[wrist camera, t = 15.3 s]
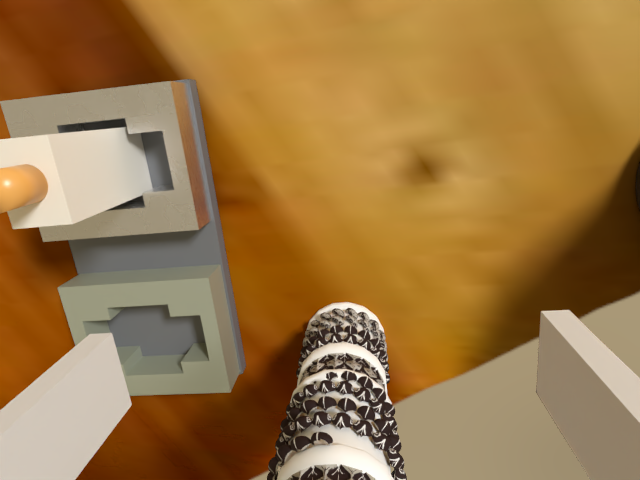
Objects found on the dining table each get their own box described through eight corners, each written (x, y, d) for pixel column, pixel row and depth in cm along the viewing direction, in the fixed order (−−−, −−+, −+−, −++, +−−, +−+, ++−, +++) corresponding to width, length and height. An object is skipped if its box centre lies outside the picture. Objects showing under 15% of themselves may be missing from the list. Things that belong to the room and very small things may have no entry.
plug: (92, 130, 39) (-59, 145, 25) (138, 125, 39) (11, 137, 24) (109, 194, 41) (-24, 242, 27) (153, 190, 40) (41, 236, 26)
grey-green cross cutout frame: (80, 273, 44) (57, 287, 41) (220, 264, 42) (208, 277, 39) (109, 376, 48) (91, 397, 44) (239, 371, 46) (230, 392, 43)
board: (38, 98, 40) (27, 98, 39) (195, 80, 39) (189, 79, 37) (115, 371, 49) (108, 378, 48) (245, 365, 47) (242, 373, 46)
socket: (30, 101, 39) (-1, 101, 36) (186, 83, 37) (170, 81, 34) (67, 231, 43) (43, 241, 39) (211, 219, 41) (199, 229, 38)
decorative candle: (299, 370, 47) (238, 641, 23) (304, 293, 44) (242, 514, 20) (382, 379, 46) (407, 668, 23) (393, 303, 44) (435, 541, 20)
